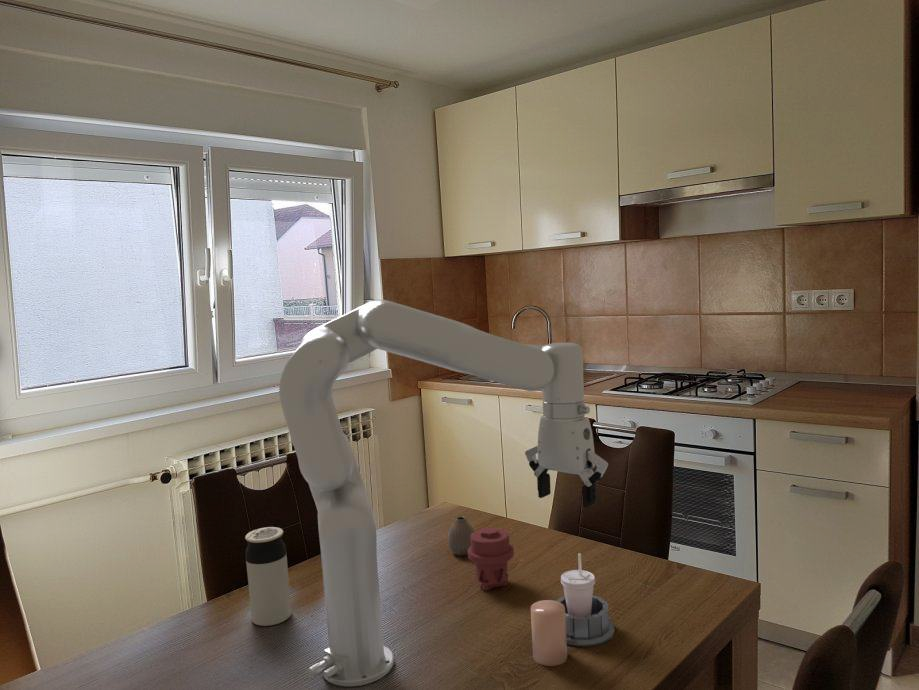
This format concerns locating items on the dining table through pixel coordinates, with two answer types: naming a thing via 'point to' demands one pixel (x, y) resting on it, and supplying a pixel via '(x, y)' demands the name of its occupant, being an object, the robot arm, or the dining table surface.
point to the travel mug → (268, 576)
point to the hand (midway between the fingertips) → (566, 500)
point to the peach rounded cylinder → (549, 632)
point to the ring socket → (589, 625)
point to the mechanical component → (491, 556)
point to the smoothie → (578, 590)
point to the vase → (460, 536)
